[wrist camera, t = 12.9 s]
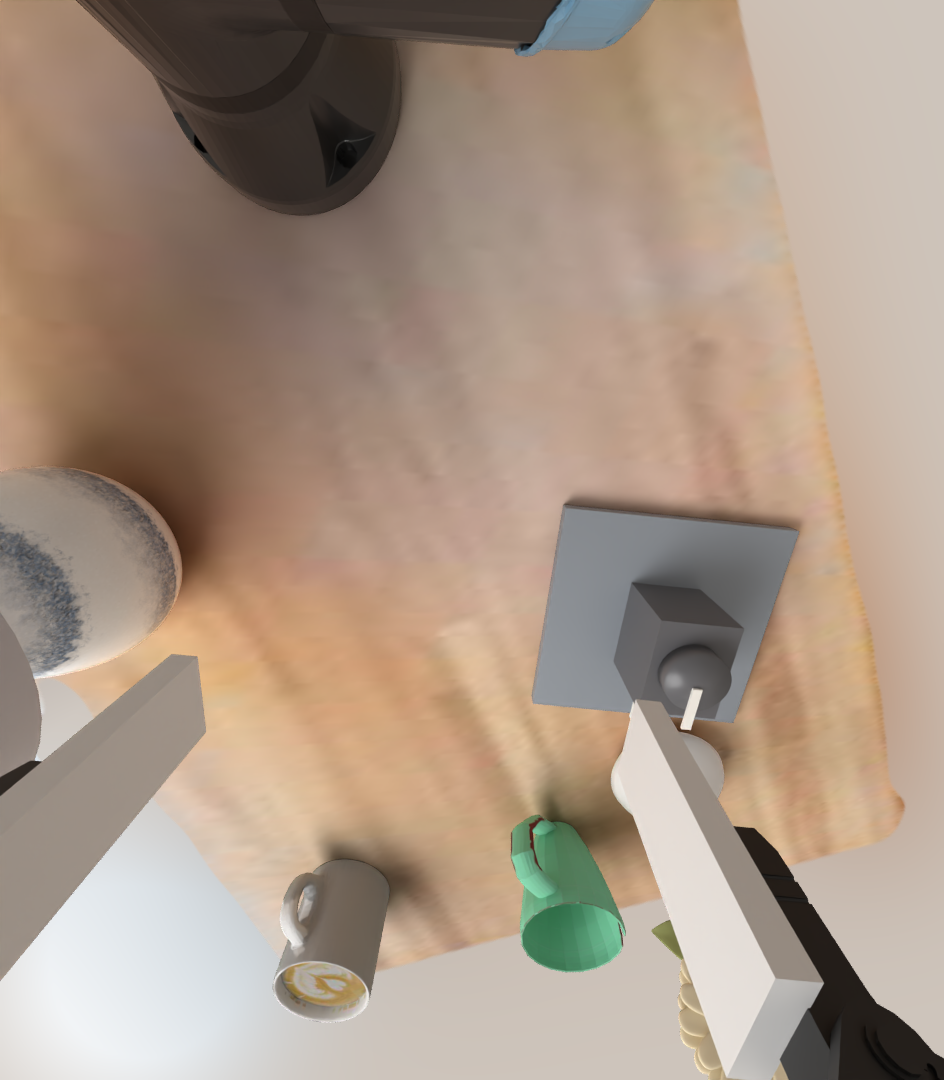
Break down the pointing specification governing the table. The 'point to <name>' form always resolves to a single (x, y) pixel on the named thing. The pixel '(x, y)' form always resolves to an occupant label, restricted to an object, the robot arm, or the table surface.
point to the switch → (658, 559)
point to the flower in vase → (691, 1012)
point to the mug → (563, 899)
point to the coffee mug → (331, 940)
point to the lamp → (73, 585)
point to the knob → (677, 650)
